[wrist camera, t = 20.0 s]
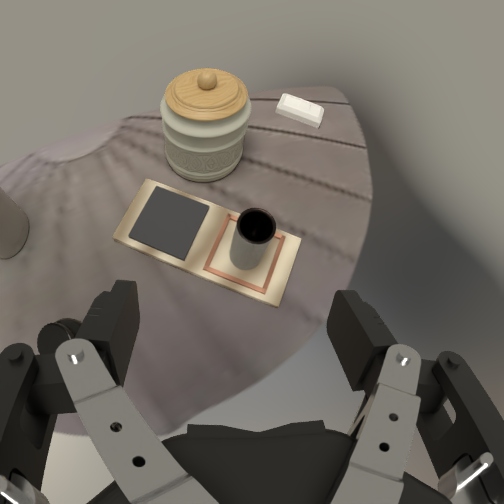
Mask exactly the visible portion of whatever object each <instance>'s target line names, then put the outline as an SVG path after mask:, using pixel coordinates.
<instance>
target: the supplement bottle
mask: <svg viewBox="0 0 504 504" xmlns="http://www.w3.org/2000/svg"><path fill="white" fill-rule="evenodd" d="M81 324H82V322H81V321H78V320H75V319H71V318H63V319H60V320H58V321H56V322H55V323H50V324H47V325H45V326H44V328H42V330H41V331H40V333H39V335H38V339H37V340H38V341H37V344H38V346H37V347H38V351H39V353H40V355H42V354H53V353H56V350H57V348H58V347H59V346H60V345H61V344H62V343H64V342H66V341H68V340H71V339H74V338H75V336H76V334H77V332H78V330H79V328H80V326H81Z"/></svg>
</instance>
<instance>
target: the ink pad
mask: <svg viewBox="0 0 504 504" xmlns="http://www.w3.org/2000/svg"><path fill="white" fill-rule="evenodd" d="M208 210H209V205H206V204H203V203H201V202H198V201H196V200H193V199H190V198H188V197H185V196H183V195H180V194H177V193H175V192H172V191H169V190H167V189H164V188H162V187H159V186H156V187H155V189H154V190H153V192H152V194H151V195H150V197H149V199H148V201H147V202H146V204H145V206H144V208H143V209H142V211H141V213H140V215H139V216H138V218H137V220H136V222H135V224H134V226H133V227H132V229H131V231H130V233H129V235H128V236H129V238H131V239H133V240H136V241H138V242H140V243H142V244H145V245H147V246H149V247H152V248H154V249H156V250H159V251H161V252H163V253H166V254H168V255H170V256H173V257H175V258H178V259H180V260H182V261H185V258H186V256H187V254H188V252H189V250H190V248H191V246H192V243H193V241H194V239H195V237H196V235H197V233H198V231H199V229H200V227H201V225H202V222H203V220H204V218H205V216H206V214H207V212H208Z"/></svg>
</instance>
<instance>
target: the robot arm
mask: <svg viewBox="0 0 504 504" xmlns="http://www.w3.org/2000/svg"><path fill="white" fill-rule="evenodd" d="M28 231H29V222H28V218H27V216H26V214H25V213H24V212H23V211H22V210H21V209H20V208H19V207H18V206H17V205H16V204H15V203H14V202H13V201H12V200H11V199H10V197H9V196H8V195H7V194H6V193H5V192H4V191H3V190H2V189H1V188H0V258H2V259H7V258H11V257H12V256H14V255H15V254H17V253H18V252H19V250H20V249H21V248H22V247H23V245H24V243H25V241H26V239H27V235H28ZM139 323H140V312H139V303H138V293H137V284H136V282H135V281H127V280H116V282H115V284H114V286H113V288H112V290H111V292H107V291H104V292H102V293H101V294H100V295H99V296H97V297H96V298H95V299H94V301H93V303H92V305H91V308H90V309H89V311H88V313H87V315H86V316H85V318H84V320H83V322H82V324H81V326H80V328H79V330H78V332H77V334H76V336H75V338H74V339H71V340H68V341H66V342H64V343H62V344H61V345H60V346H59V347H58V348H57V350H56V353H53V354H42V355H35V354H34V352H33V350H32V348H31V347H30V346H29V345H27V344H24V343H16V344H12V345H10V346H8V347H6V348H5V349H4V350H3V351H2V352H1V354H0V504H50V503H49V501H48V499H47V498H46V497H45V496H44V494H42V493H41V486H42V480H43V475H44V470H45V465H46V460H47V456H48V451H49V447H50V443H51V438H52V434H53V430H54V427H55V423H56V419H57V415H58V414H63V413H75V412H78V414H79V416H80V419H81V421H82V423H83V425H84V427H85V429H86V431H87V432H88V434H89V436H90V438H91V440H92V442H93V444H94V446H95V447H96V449H97V451H98V453H99V455H100V456H101V458H102V460H103V461H104V463H105V465H106V466H107V468H108V470H109V471H110V473H111V475H112V476H113V478H114V479H115V480H114V481H113V482H112V483H111V484H110V485H109V486H107V487H106V488H105V489H104V490H103V491H101V492H100V493H99V494H98V495H97V496H95V497H94V498H93V499H92V500H91V501H89V502H88V503H87V504H504V420H503V419H502V417H501V415H500V414H499V412H498V410H497V409H496V407H495V405H494V404H493V402H492V401H491V399H490V397H489V396H488V394H487V393H486V391H485V390H484V388H483V387H482V385H481V384H480V382H479V381H478V379H477V378H476V376H475V375H474V373H473V372H472V370H471V369H470V367H469V366H468V365H467V363H466V362H465V360H464V359H463V358H462V357H461V356H460V355H458V354H456V353H454V352H451V351H444V352H441V353H440V354H439V356H438V358H437V359H436V361H430V360H423V359H421V358H420V356H419V354H418V353H417V352H416V351H415V350H414V349H412V348H410V347H408V346H406V345H402V344H398V343H397V341H396V340H395V338H394V337H393V335H392V334H391V332H390V331H389V329H388V328H387V326H386V325H384V322H383V320H382V319H381V318H380V316H379V315H378V313H377V312H376V310H375V309H374V308H373V307H372V306H370V305H369V304H368V303H366V302H363V301H362V299H361V298H360V297H359V295H358V293H357V292H356V291H354V290H338V291H336V293H335V296H334V299H333V302H332V306H331V309H330V313H329V316H328V320H327V333H328V336H329V338H330V340H331V343H332V345H333V347H334V349H335V352H336V354H337V356H338V358H339V361H340V363H341V365H342V367H343V370H344V372H345V374H346V377H347V379H348V381H349V383H350V386H351V388H352V390H353V391H360V390H364V391H365V395H364V397H363V399H362V401H361V404H360V406H359V408H358V411H357V413H356V416H355V418H354V420H353V422H352V425H351V427H350V429H349V431H348V434H344V433H342V432H338V431H335V430H329V429H325V426H324V422H323V420H319V421H309V422H298V423H290V424H287V425H284V426H280V427H277V428H273V429H270V430H266V431H262V432H253V431H248V430H242V429H237V428H232V427H227V426H223V425H193V424H188V427H187V433H186V434H181V435H177V436H173V437H171V438H168V439H165V440H163V441H162V442H161V441H160V440H159V439H158V438H157V436H156V435H155V434H154V432H153V431H152V430H151V428H150V427H149V426H148V424H147V423H146V421H145V420H144V419H143V417H142V416H141V414H140V413H139V412H138V410H137V409H136V407H135V406H134V404H133V403H132V401H131V400H130V398H129V397H128V395H127V394H126V392H125V391H124V389H123V385H124V381H125V377H126V373H127V369H128V365H129V362H130V358H131V354H132V350H133V347H134V343H135V340H136V336H137V333H138V329H139ZM447 399H449V400H450V402H451V404H452V406H453V408H454V410H455V412H456V420H455V422H454V424H453V423H452V421H451V419H450V417H449V415H448V414H447V411H446V410H445V408H444V406H443V404H444V403H445V402H446V400H447ZM415 426H417V428H418V431H419V433H420V435H421V437H422V440H423V442H424V444H425V447H426V449H427V451H428V454H429V456H430V459H431V461H432V463H433V466H434V468H435V471H436V473H437V476H438V478H439V482H438V491H437V490H435V489H433V488H431V487H430V486H428V485H426V484H425V483H423V482H421V481H420V480H418V479H416V478H415V477H413V476H411V475H410V474H408V473H407V472H405V471H404V470H405V466H406V463H407V459H408V455H409V451H410V448H411V444H412V439H413V435H414V431H415Z"/></svg>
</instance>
